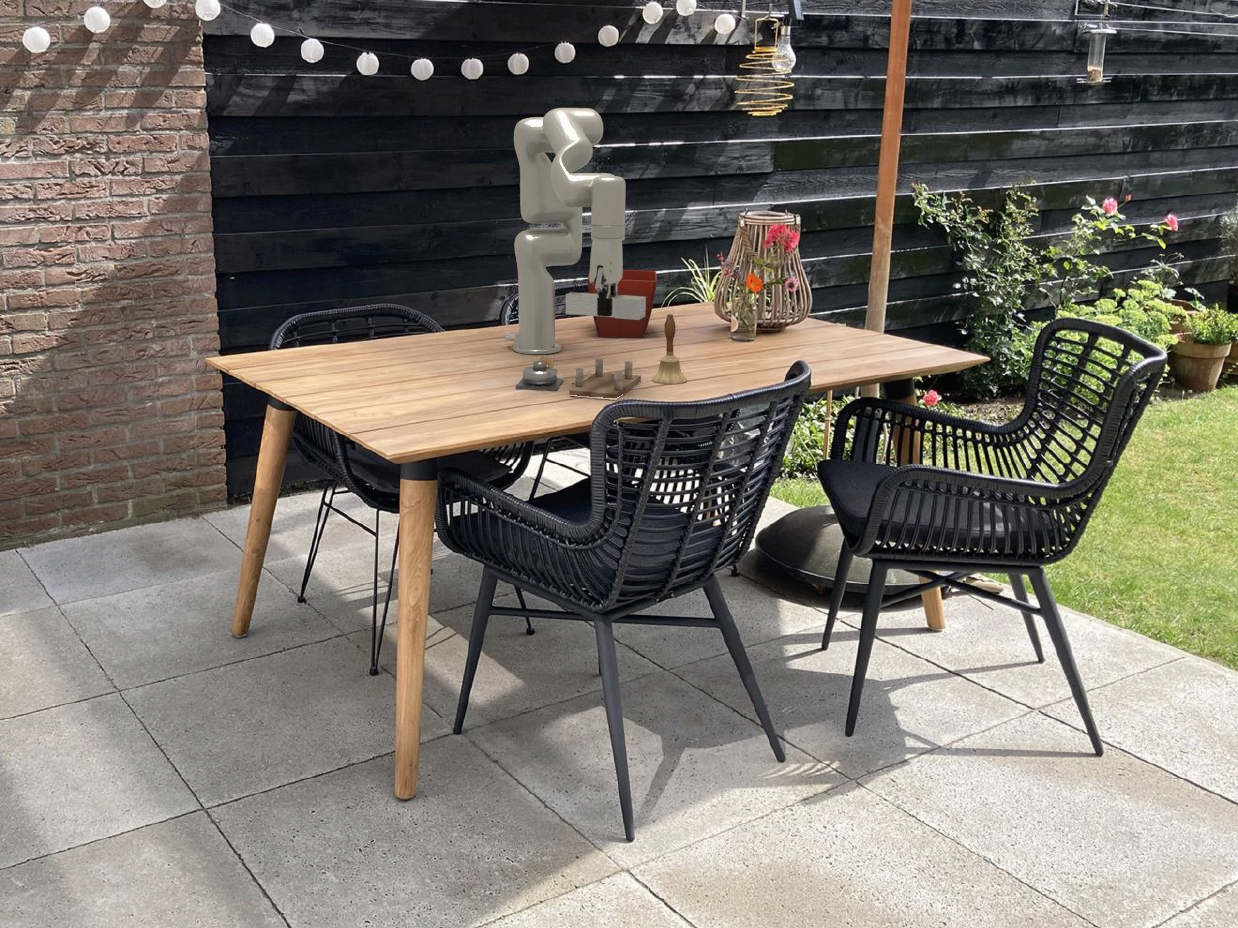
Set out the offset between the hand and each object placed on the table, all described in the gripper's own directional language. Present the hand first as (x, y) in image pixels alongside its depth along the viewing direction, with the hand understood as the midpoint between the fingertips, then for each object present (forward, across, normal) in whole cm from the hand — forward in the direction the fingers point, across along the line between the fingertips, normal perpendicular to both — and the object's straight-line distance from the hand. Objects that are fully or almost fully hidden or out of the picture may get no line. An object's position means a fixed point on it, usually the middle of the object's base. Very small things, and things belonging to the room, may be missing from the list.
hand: (607, 313), depth 284 cm
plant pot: (+17, -66, -18) cm, 71 cm away
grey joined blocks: (0, 0, 0) cm, 0 cm away
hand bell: (+18, -14, +11) cm, 25 cm away
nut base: (+17, +2, -13) cm, 22 cm away
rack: (+18, 0, 0) cm, 18 cm away
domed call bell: (+16, 0, -16) cm, 23 cm away
